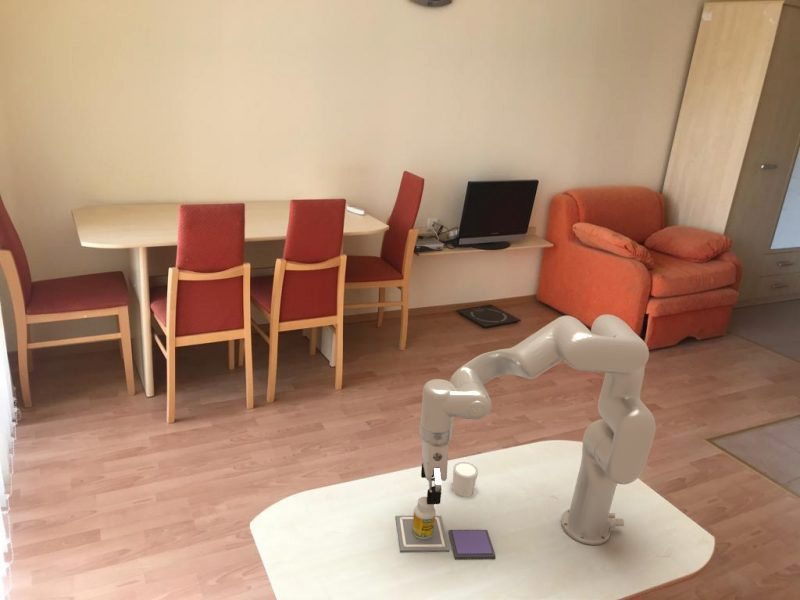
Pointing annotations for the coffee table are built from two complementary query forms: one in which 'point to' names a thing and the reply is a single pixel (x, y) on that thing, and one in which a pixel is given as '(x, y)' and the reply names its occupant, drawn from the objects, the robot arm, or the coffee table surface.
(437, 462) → the robot arm
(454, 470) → the white short cylinder
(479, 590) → the coffee table surface
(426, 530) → the supplement bottle
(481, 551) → the ink pad
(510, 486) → the coffee table surface
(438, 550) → the grey square tile
